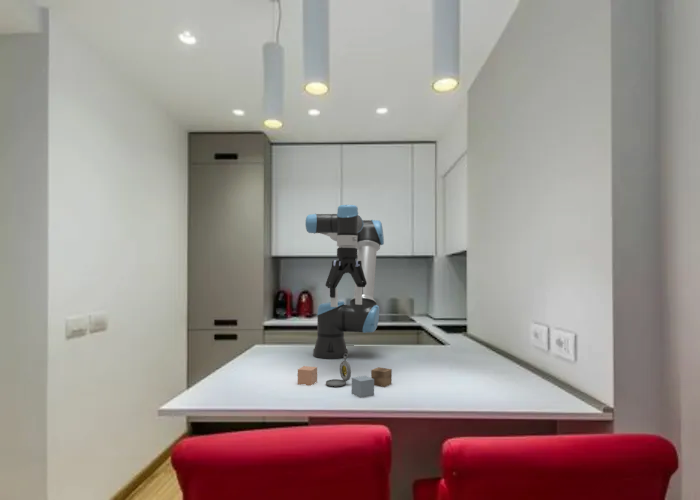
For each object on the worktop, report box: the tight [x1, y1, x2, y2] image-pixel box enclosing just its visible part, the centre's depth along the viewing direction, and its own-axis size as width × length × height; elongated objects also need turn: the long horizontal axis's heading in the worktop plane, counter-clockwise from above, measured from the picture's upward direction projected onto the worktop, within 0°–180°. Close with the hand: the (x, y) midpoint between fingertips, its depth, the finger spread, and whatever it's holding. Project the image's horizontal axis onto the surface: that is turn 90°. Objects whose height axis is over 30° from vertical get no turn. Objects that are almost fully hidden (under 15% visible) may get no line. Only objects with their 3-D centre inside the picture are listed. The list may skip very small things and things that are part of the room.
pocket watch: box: [325, 353, 352, 388], centre depth 150 cm, size 8×8×10 cm
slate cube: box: [351, 375, 375, 399], centre depth 139 cm, size 5×5×5 cm
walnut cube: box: [370, 366, 393, 388], centre depth 150 cm, size 5×5×5 cm
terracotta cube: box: [297, 365, 318, 386], centre depth 152 cm, size 5×5×5 cm
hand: (346, 305), depth 164 cm, fingers open, 13 cm apart
